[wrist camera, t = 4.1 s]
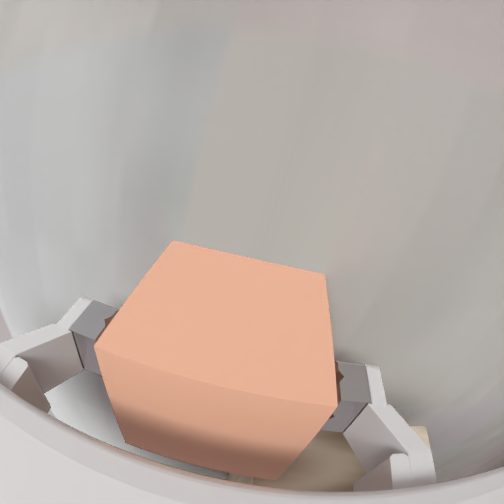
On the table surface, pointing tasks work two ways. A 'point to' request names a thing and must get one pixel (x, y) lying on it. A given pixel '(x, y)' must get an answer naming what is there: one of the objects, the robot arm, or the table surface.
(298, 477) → the birch block
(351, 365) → the robot arm
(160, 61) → the table surface
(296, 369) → the terracotta cube
